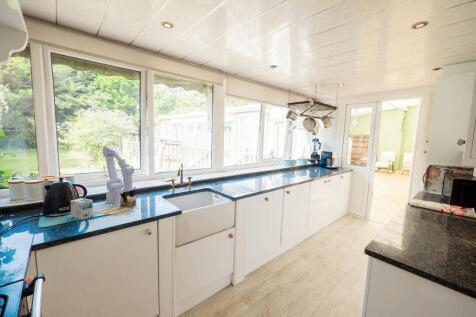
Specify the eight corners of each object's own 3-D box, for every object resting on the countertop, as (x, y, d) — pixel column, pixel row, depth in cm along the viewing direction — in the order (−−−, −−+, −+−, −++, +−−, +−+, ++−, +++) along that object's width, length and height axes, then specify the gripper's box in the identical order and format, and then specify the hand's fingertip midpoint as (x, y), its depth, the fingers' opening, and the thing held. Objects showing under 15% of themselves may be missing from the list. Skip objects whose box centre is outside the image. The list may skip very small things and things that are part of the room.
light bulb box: (93, 216, 128) (93, 199, 127) (82, 220, 121) (81, 202, 120) (82, 213, 131) (81, 197, 130) (70, 217, 125) (69, 200, 124)
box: (120, 206, 146) (120, 200, 146) (125, 204, 151) (125, 198, 151) (131, 207, 145) (131, 201, 144) (136, 205, 149) (135, 199, 149)
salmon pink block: (119, 201, 146) (119, 197, 146) (125, 199, 151) (125, 196, 151) (131, 202, 144) (131, 199, 144) (136, 200, 149) (136, 197, 149)
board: (95, 213, 133) (95, 212, 132) (112, 206, 146) (112, 205, 146) (118, 216, 129) (118, 215, 129) (133, 208, 142) (133, 208, 142)
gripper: (125, 185, 138) (125, 204, 140) (139, 181, 153) (139, 198, 154) (116, 184, 140) (116, 203, 141) (131, 180, 154) (131, 197, 155)
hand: (128, 200), depth 148 cm, fingers open, 6 cm apart
